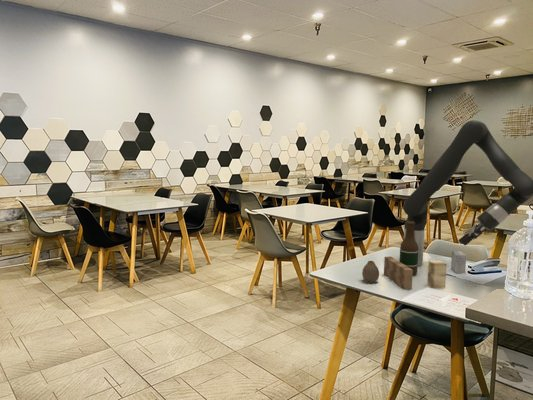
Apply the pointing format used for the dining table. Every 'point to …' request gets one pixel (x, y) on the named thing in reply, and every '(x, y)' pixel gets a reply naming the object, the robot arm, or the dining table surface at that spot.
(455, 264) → the medicine box
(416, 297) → the dining table surface
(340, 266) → the dining table surface
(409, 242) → the beer bottle
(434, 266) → the maple block
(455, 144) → the robot arm
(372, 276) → the vase
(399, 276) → the walnut board
